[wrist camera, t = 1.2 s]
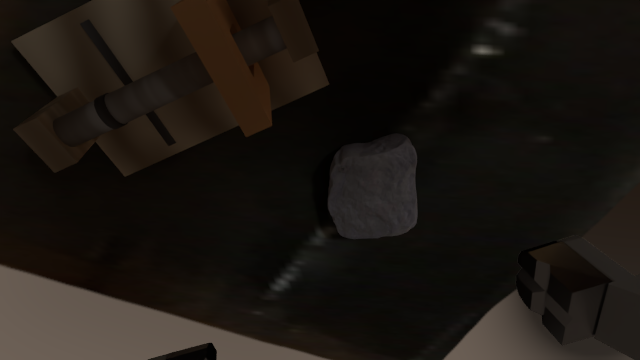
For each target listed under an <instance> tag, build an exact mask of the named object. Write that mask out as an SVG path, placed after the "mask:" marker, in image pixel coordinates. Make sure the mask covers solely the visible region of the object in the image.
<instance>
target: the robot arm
mask: <svg viewBox="0 0 640 360" xmlns="http://www.w3.org/2000/svg"><path fill="white" fill-rule="evenodd" d="M517 263H518V264H519V265H520V266H521V267H522V268H521V270H520V271H519V272H518V274H517V275H516V287H517V290H518V293H519V296H520V297H521V298H522V300H523V302H524V303H525V304H526V306H527V307H528V308H529V309H530V310H531V311H533V312H536V313H538V314H540V315H542V323H543V325H544V326H545V327H546V328H547V329H548V330H549V332H550V333H551V334H552V335H553V336H554V337H555V338H556V339H557V341H558V342H559V343H560V344H561V345H565V344H569V343H572V342H576V341H579V340H583V339H586V338H590V337H593V336H595V337H594V338H595V339H597V340H599V341H601V342H602V343H604V344H606V345H608V346H610V347H612V348H614V349H616V350H617V351H619V352H621V353H623V354H625V355H627V356H629V357H631V358H633V359H634V360H640V274H638V275H633V274H631V273H630V272H629V271H627V270H626V269H625V268H623V267H622V266H620V265H619V264H618V263H616V262H615V261H614V260H612V259H611V258H610V257H608V256H607V255H605V254H604V253H603V252H601V251H600V250H599V249H597V248H596V247H595V246H593V245H592V244H591V243H589V242H588V241H587V240H585V239H584V238H582V237H580V236H577V235H574V236H570V237H567V238H564V239H560V240H557V241H553V242H550V243H546V244H543V245H540V246H536V247H533V248H530V249H527V250H523V251H521V252H520V254H519V255H518V262H517ZM216 354H217V351H216V349H215V348H214V346H213V344H212V343H207V344H203V345H199V346H195V347H191V348H188V349H184V350H180V351H176V352H172V353H169V354H166V355H162V356H159V357H155V358H151V359H148V360H216Z"/></svg>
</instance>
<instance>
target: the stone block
mask: <svg viewBox="0 0 640 360" xmlns="http://www.w3.org/2000/svg"><path fill="white" fill-rule="evenodd" d="M416 164H417V154H416V151H415V148H414V147H413V146H412V144H411V141H410V140H409V138H408V137H407V136H405V135H403V134H399V133H394V134H390V135H387V136H383V137H381V138H378V139H375V140H373V141H372V142H368V143H353V144H348V145H344V146H342V147H341V148H340V149H339V150H338V151H337V153H336V154H335V156H334V157H333V161H332V163H331V166H330V181H329V188H328V193H329V194H328V210H329V212H330V214H331V216H332V219H333V222H334V223H335V225H336V228H337V232H338V233H339V234H340V235H341V236H343V237H346V238H350V239H360V238H379V237H383V236H396V235H400V234H403V233H406V232H408V231H409V230H410V229H411V228H413V227H414V226H415V224H416V222H417V195H416V186H415V168H416Z"/></svg>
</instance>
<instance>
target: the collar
mask: <svg viewBox="0 0 640 360" xmlns="http://www.w3.org/2000/svg"><path fill="white" fill-rule="evenodd" d="M170 8H171V10H172V11H173V13H174V15H175V17H176V18H177V20H178V22H179V23H180V25H181V27H182V28H183V30H184V32H185V34H186V35H187V37H188V39H189V40H190V42H191V44H192V46H193V47H194V49H195V51H196V52H197V54H198V56H199V58H200V59H201V61H202V63H203V64H204V66H205V68H206V70H207V71H208V73H209V75H210V76H211V78H212V80H213V82H214V83H215V85H216V87H217V88H218V90H219V92H220V94H221V95H222V97H223V99H224V100H225V102H226V104H227V105H228V107H229V109H230V111H231V112H232V114H233V116H234V117H235V119H236V121H237V123H238V124H239V126H240V128H241V129H242V131H243V133H244V135H245V136H246V137H248V136H250V135H252V134H255V133H257V132H259V131H261V130H264V129H266V128H268V127H270V126H272V116H271V102H270V88H269V84H268V82H267V80H266V78H265V76H264V74H263V72H262V70H261V68H260V66H259V64H258V62H256V63H254V64H252V65H250V66H247V64H246V62H245V60H244V58H243V56H242V54H241V52H240V50H239V48H238V46H237V44H236V42H235V40H234V39H233V37H232V34H234V33H237V32H239V31H241V28H240V26H239V24H238V22H237V20H236V18H235V17H234V15H233V13H232V11H231V9H230V7H229V5H228V3H227V1H226V0H181V1H179V2H178V3H176V4H175V5H173V6H171V7H170Z"/></svg>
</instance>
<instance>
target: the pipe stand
mask: <svg viewBox="0 0 640 360" xmlns="http://www.w3.org/2000/svg"><path fill="white" fill-rule="evenodd" d="M179 1H181V0H92V1H90V2H88V3H86V4H84V5H82V6H80V7H78V8H76V9H74V10H72V11H70V12H68V13H66V14H64V15H62V16H60V17H58V18H56V19H54V20H52V21H50V22H48V23H46V24H44V25H42V26H40V27H38V28H36V29H35V30H33V31H31V32H29V33H27V34H25V35H23V36H21V37H19V38H17V39H15V40H13V41H11V42H12V43H13V45H14V46H15V47H16V48H17V49H18V51H19V52H20V53H21V54H22V55H23V56H24V58H25V59H26V60H27V61H28V62H29V64H30V65H31V66H32V67H33V68H34V70H35V71H36V72H37V73H38V74H39V75H40V77H41V78H42V79H43V80H44V81H45V83H46V84H47V85H48V86H49V87H50V88H51V90H52V91H53V92H54V93H55V94H56V96H57V97H56V98H55V99H54V100H52V101H51V102H50V103H48V104H47V105H45V106H44V107H43V108H41V109H40V110H39V111H37V112H36V113H34V114H33V115H32V116H30V117H29V118H27V119H26V120H25V121H23V122H22V123H21V124H19V125H18V126H16V127H15V128H14V129H13V130H14V131H15V132H16V133H17V134H18V135H19V136H20V137H21V138H22V139H23V140H24V141H25V142H26V143H27V145H28V146H29V147H30V148H31V149H32V150H33V151H34V152H35V153H36V154H37V155H38V156H39V157H40V158H41V159H42V160H43V161H44V162H45V163H46V164H47V165H48V166H49V167H50V168H51V169H52V171H53V172H54V173H56V172H58V171H60V170H62V169H64V168H67V167H69V166H71V165H73V164H75V163H77V162H78V161H79V160H80V159H81V158H82V157H83V155H84V154H85V153H86V152H87V151H88V150H89V148H90V147H91V146H92V145H93V144H94V143H95V142H96V143H97V144H98V145H99V147H100V148H101V149H102V150H103V151H104V153H105V154H106V155H107V156H108V157H109V158H110V160H111V161H112V162H113V163H114V164H115V166H116V167H117V168H118V169H119V170H120V172H121V173H122V174H123V175H124V176H125V177H126V176H128V175H130V174H132V173H134V172H137V171H139V170H141V169H143V168H146V167H148V166H150V165H152V164H154V163H157V162H159V161H161V160H163V159H165V158H168V157H170V156H172V155H174V154H177V153H179V152H181V151H183V150H185V149H188V148H190V147H192V146H194V145H196V144H199V143H201V142H203V141H205V140H208V139H210V138H212V137H214V136H216V135H219V134H221V133H223V132H225V131H227V130H230V129H232V128H234V127H236V126H239V124H238V123H237V121H236V119H235V117H234V116H233V114H232V112H231V111H230V109H229V107H228V105H227V104H226V102H225V100H224V99H223V97H222V95H221V94H220V92H219V90H218V88H217V87H216V85H215V83H214V82H213V80H212V78H211V76H210V75H209V73H208V71H207V70H206V68H205V66H204V64H203V63H202V61H201V59H200V58H199V56H198V54H197V52H196V51H195V49H194V47H193V46H192V44H191V42H190V40H189V39H188V37H187V35H186V34H185V32H184V30H183V28H182V27H181V25H180V23H179V22H178V20H177V18H176V17H175V15H174V13H173V11H172V10H171V8H170V7H171V6H173V5H175V4H176V3H178V2H179ZM226 1H227V3H228V5H229V7H230V9H231V11H232V13H233V15H234V17H235V18H236V20H237V22H238V24H239V26H240V28H241V31H239V32H237V33H234V34H232V37H233V39H234V40H235V42H236V44H237V46H238V48H239V50H240V52H241V54H242V56H243V58H244V60H245V62H246V64H247V66H250V65H252V64H254V63H256V62H258V64H259V66H260V68H261V70H262V72H263V74H264V76H265V78H266V80H267V82H268V84H269V88H270V102H271V111H272V110H274V109H276V108H278V107H281V106H283V105H285V104H287V103H290V102H292V101H294V100H296V99H298V98H301V97H303V96H305V95H307V94H309V93H312V92H314V91H316V90H318V89H321V88H323V87H325V86H327V85H329V82H328V79H327V77H326V75H325V72H324V70H323V67H322V65H321V62H320V60H319V57H318V55H317V53H316V52H318V51H319V49H318V47H317V45H316V42H315V40H314V37H313V35H312V32H311V30H310V27H309V25H308V22H307V20H306V17H305V15H304V12H303V10H302V7H301V5H300V2H299V0H226Z"/></svg>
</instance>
